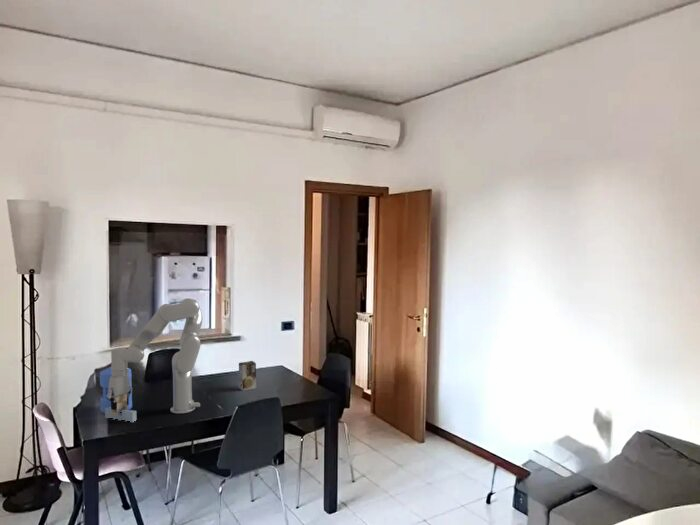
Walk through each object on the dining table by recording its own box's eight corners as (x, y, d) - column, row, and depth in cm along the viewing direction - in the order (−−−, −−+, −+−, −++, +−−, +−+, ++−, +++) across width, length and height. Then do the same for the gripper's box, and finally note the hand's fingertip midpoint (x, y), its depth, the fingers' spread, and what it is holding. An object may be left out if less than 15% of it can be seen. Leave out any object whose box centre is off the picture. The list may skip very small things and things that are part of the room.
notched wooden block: (123, 410, 262) (123, 392, 261) (127, 410, 261) (127, 393, 261) (112, 414, 255) (112, 396, 255) (116, 414, 254) (116, 397, 254)
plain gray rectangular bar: (136, 420, 256) (136, 410, 256) (132, 422, 254) (132, 412, 254) (109, 416, 263) (109, 406, 262) (105, 418, 260) (104, 408, 260)
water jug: (120, 403, 284) (119, 353, 283) (138, 407, 276) (137, 356, 275) (94, 411, 271) (92, 359, 270) (112, 416, 263) (111, 362, 262)
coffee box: (252, 386, 317) (252, 360, 316) (256, 388, 311) (256, 362, 311) (238, 388, 312) (238, 362, 311) (242, 391, 306) (242, 364, 306)
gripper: (126, 368, 267) (127, 401, 267) (100, 376, 250) (100, 411, 251) (138, 369, 264) (138, 403, 265) (111, 377, 248) (112, 413, 248)
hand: (119, 406), depth 258 cm, fingers closed on notched wooden block, 7 cm apart
